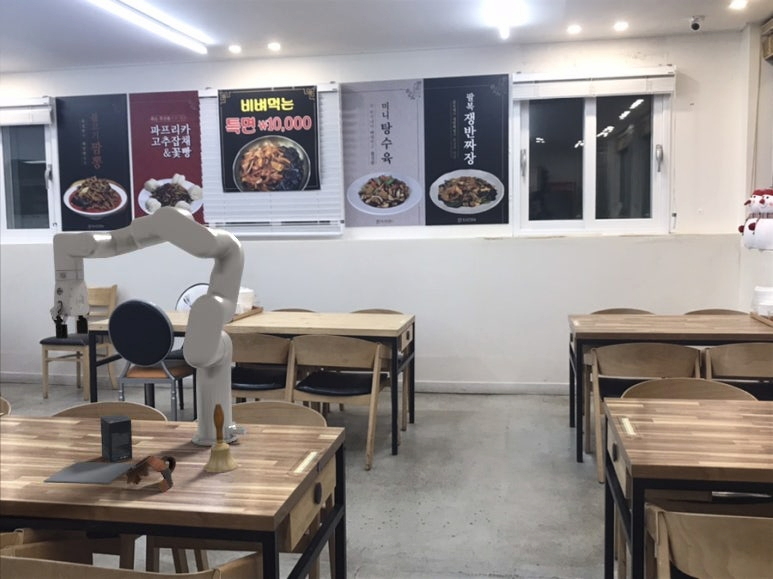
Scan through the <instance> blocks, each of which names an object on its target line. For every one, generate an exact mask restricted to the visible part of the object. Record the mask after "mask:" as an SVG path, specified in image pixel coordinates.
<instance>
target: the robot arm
mask: <svg viewBox="0 0 773 579" xmlns="http://www.w3.org/2000/svg"><path fill="white" fill-rule="evenodd" d="M163 243H170V244H172V245H173V246H176V247H177V248H179V249H180V250H183V251H184V252H186V253H187V254H189V255H191V256H192V257H196V258H198V259H204V260H205V259H213V260H214V264H213V267H212V270H211V272H210V276H209V283H208V286H207V290H206V291H207V292H206V293H205V294H202V295H200V296H198V297H197V298H196V299H195V300H194V301H193V303H192V305H191V307H190V310H189V313H188V316H187V317H188V318H187V322H186V328H185V334H184V339H183V346H182V353H183V354H182V356H183V357H184V360H185V362H186V363H187V364H188V365H189V366H191V367H193V368H194V369H196V374H195V375H196V377H195V380H196V382H195V384H196V386H195V387H196V389H195V390H196V414H197V416H196V417H197V418H196V420H197V421H196V422H197V423H196V424H197V426H196V427H197V432H196V433H195V434H193V436H192V437H191V442H192V443H193V444H195V445H199V446H206V447H207V446H209V447H210V446H211V447H212V446H213V445H215V444H216V443H217V440H216V438H217V437H216V427H215V424H214V419H213V414H214V410H215V405H216V404H221V407H222V409H223V412H224V424H223V440H224V443H226V444H230V443H233V442H235V441H237V440H238V438H239V436H245V435H246V434H247V428H246V427H245V426H238V425H236V421H233V416H232V415H233V412H232V408H233V407H232V360H233V342H232V338H231V337H230V335H229V334H228V333H227V332H226V331H224V330H223V327H224V326H225V325H227V324H229V323H231V321H233V319H234V318H235V316H236V311H237V305H238V300H239V295H240V290H241V283H242V278H243V273H244V268H245V252H244V249H243V246H242V244H241V242H240V241H239V239H238V238H237V237H236V236H235V235H233V234H232V233H231V232H229V231H228V230H226V229H223V228H220V227H211V226H210V227H209V226H205V225H203V224H201V223H199V222H198V221H196V220H195V218H194V215H192V213H191V212H190V211H189V210H188V209H185V208H182V207H179V206H170V205H168V206H167V205H166V206H162V207H159V208H157V209H156V210H155V211H154V212H153V213H151V214H148V215H144V216H140V217H139V216H138V217H136V218H133V219H132V220H131V222H130V224H129V225H128V226H125V227H123V228H118V229H114V230H110V231H105V232H102V231H83V232H75V233H74V232H66V233H65V232H62V233H56V234H54V235H53V238H52V245H53V248H52V249H53V266H54V267H53V268H54V283H55V284H54V292H53V293H54V294H53V304H54V305H53V306H52V307H51V308H50V310H49V313H50V315H51V319H52V321H53V324H54V326H55V337H56V339H58V340H60V339H65V340H66V339H68V338H69V335H68V334H69V331H68V324H67V320H68V318H69V317H72V318H74V317H76V318H77V320H76V334H77V335H83V334H84V335H87V334H88V333H89V321H88V320H89V319H90V318H89V317H90V316H89V315H90V313H91V312H90V310H91V304H90V301H89V300H90V299H89V294H88V287H87V283H86V280H85V265H84V259H108V258H113V257H117V256H121V255H125V254H129V253H133V252H135V251H138V250H143V249H146V248H148V247H153V246H156V245H161V244H163ZM232 441H233V442H232Z"/></svg>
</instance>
